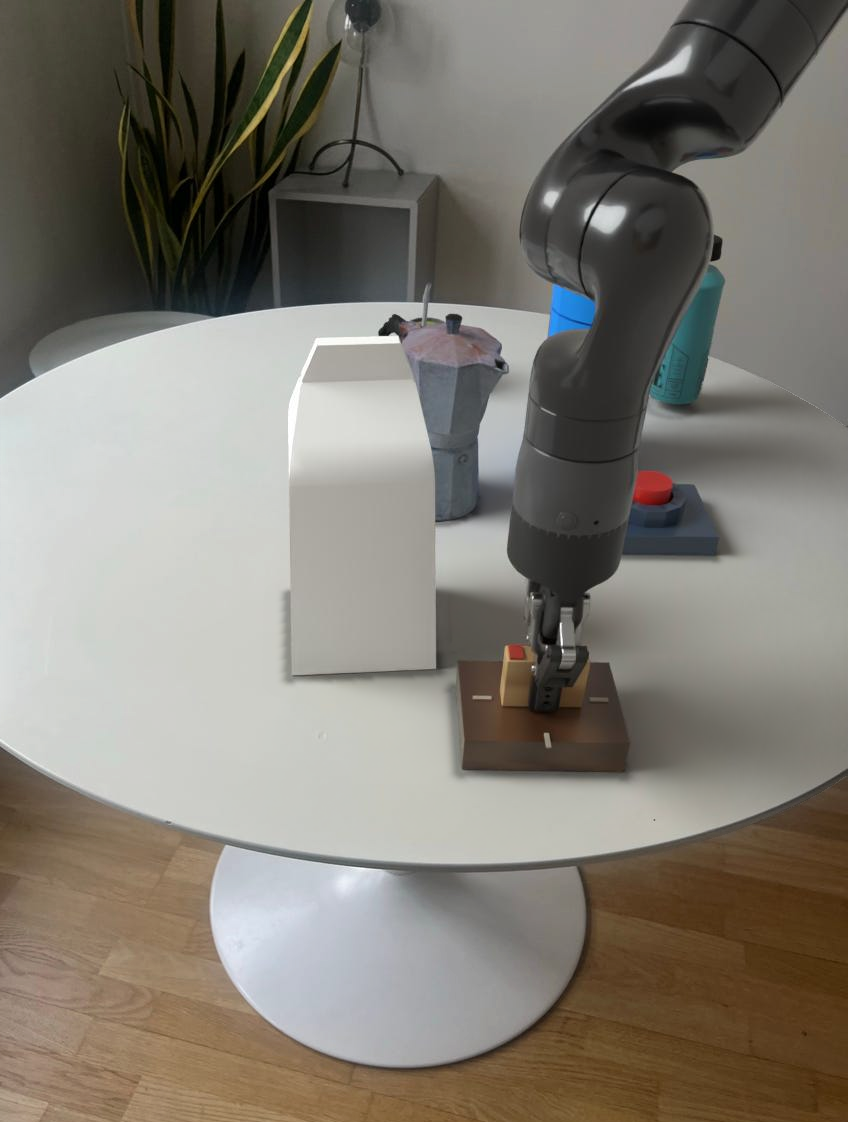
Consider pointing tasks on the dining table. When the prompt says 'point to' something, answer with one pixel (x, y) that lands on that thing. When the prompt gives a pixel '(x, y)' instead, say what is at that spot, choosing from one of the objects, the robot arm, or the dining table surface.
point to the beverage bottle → (691, 341)
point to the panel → (539, 725)
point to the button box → (671, 526)
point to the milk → (360, 512)
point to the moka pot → (451, 400)
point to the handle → (519, 679)
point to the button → (652, 488)
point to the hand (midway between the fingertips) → (540, 697)
